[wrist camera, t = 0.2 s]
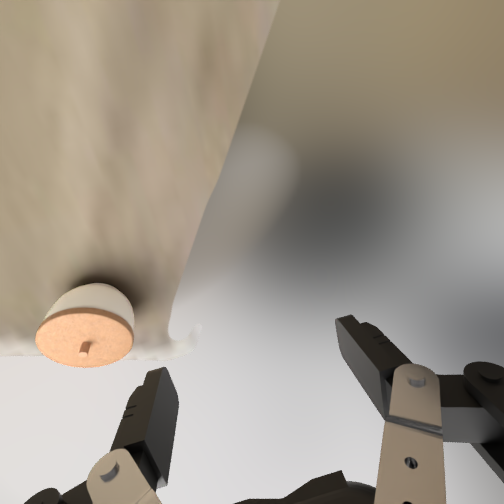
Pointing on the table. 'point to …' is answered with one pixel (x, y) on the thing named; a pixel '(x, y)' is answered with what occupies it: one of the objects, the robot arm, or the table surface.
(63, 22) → the table surface
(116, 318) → the lidded bowl
